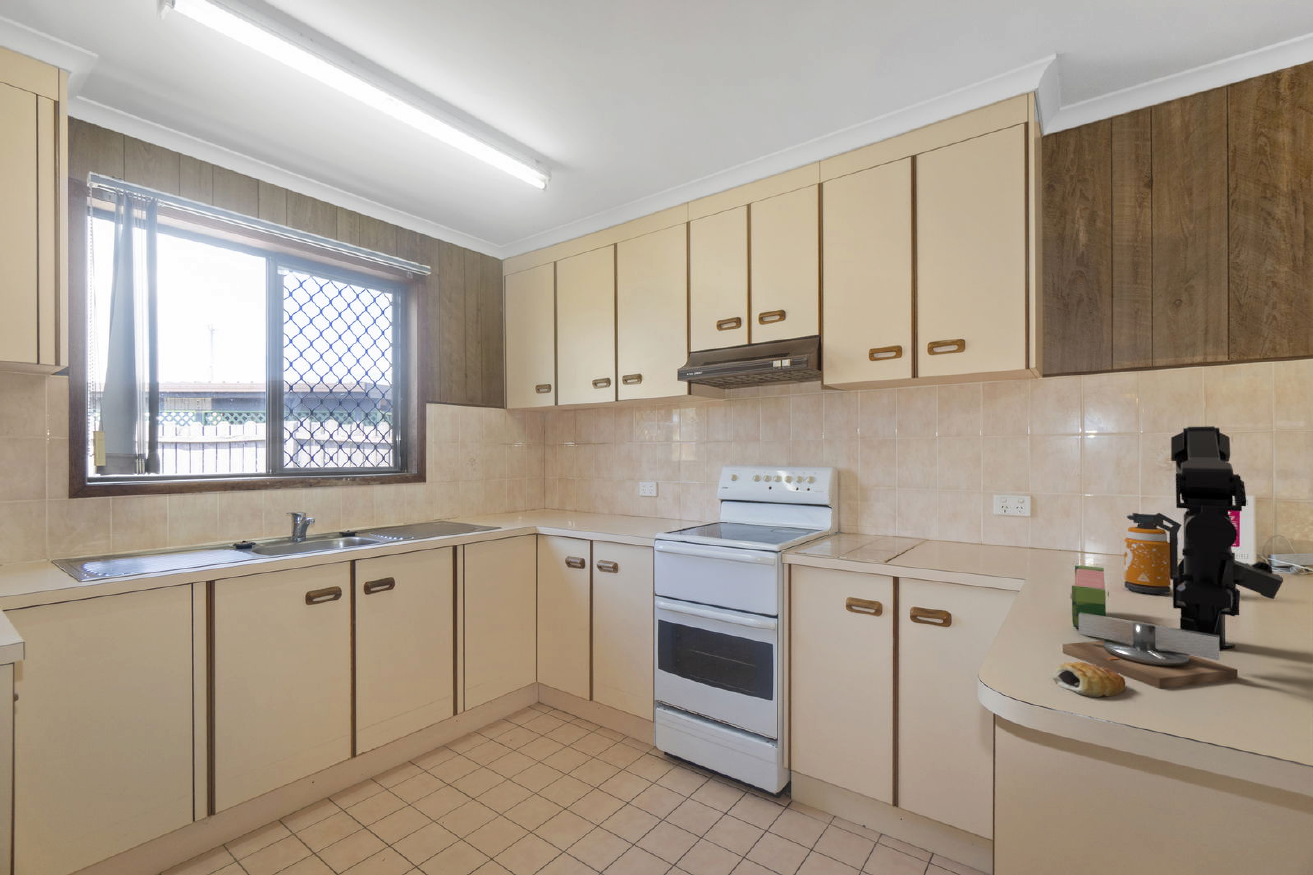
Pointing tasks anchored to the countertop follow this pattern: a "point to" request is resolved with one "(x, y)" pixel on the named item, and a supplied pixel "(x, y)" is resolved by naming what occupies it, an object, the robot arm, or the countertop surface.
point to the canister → (1150, 554)
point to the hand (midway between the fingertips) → (1208, 639)
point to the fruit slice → (1088, 592)
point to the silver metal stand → (1149, 640)
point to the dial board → (1152, 667)
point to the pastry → (1088, 679)
